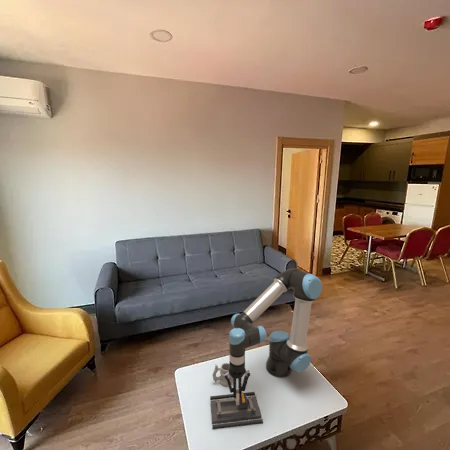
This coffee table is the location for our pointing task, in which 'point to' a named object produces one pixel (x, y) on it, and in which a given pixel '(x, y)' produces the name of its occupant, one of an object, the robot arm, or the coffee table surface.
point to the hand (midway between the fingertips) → (237, 402)
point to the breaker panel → (234, 410)
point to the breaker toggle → (243, 402)
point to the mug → (222, 374)
